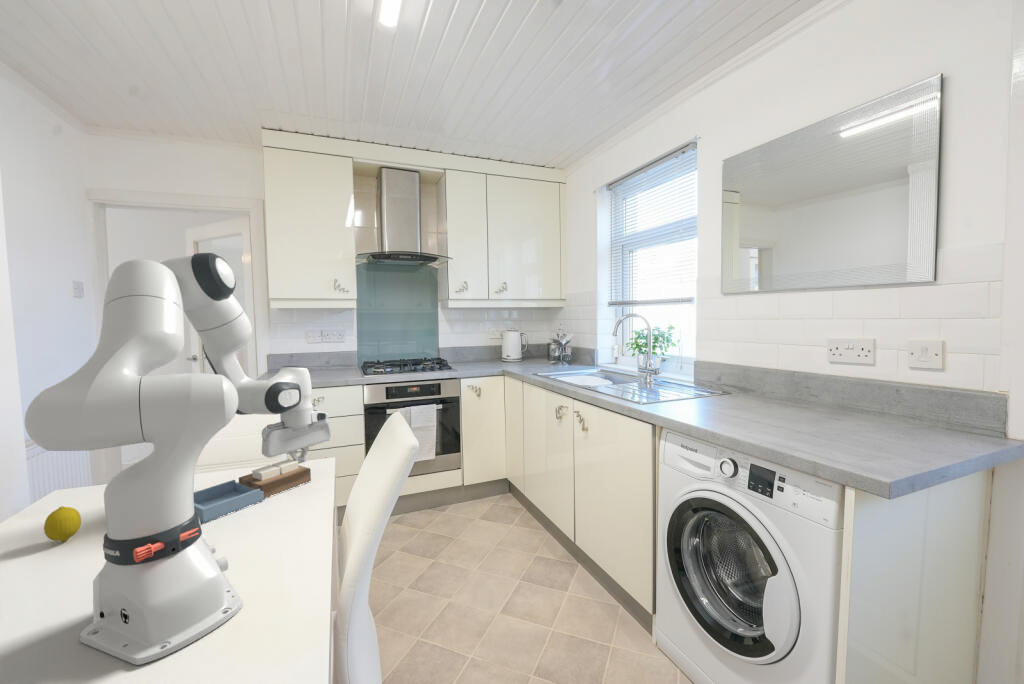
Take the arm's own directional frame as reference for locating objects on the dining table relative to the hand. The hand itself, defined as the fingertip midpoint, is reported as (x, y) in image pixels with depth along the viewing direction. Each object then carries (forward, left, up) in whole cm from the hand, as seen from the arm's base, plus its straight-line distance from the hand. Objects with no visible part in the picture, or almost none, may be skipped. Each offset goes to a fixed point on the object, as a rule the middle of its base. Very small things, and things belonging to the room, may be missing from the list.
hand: (299, 462), depth 124 cm
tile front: (0, +10, -1) cm, 10 cm away
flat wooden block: (0, +7, -5) cm, 9 cm away
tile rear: (0, +4, -1) cm, 4 cm away
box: (0, +21, -5) cm, 22 cm away
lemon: (+12, +47, -5) cm, 49 cm away
